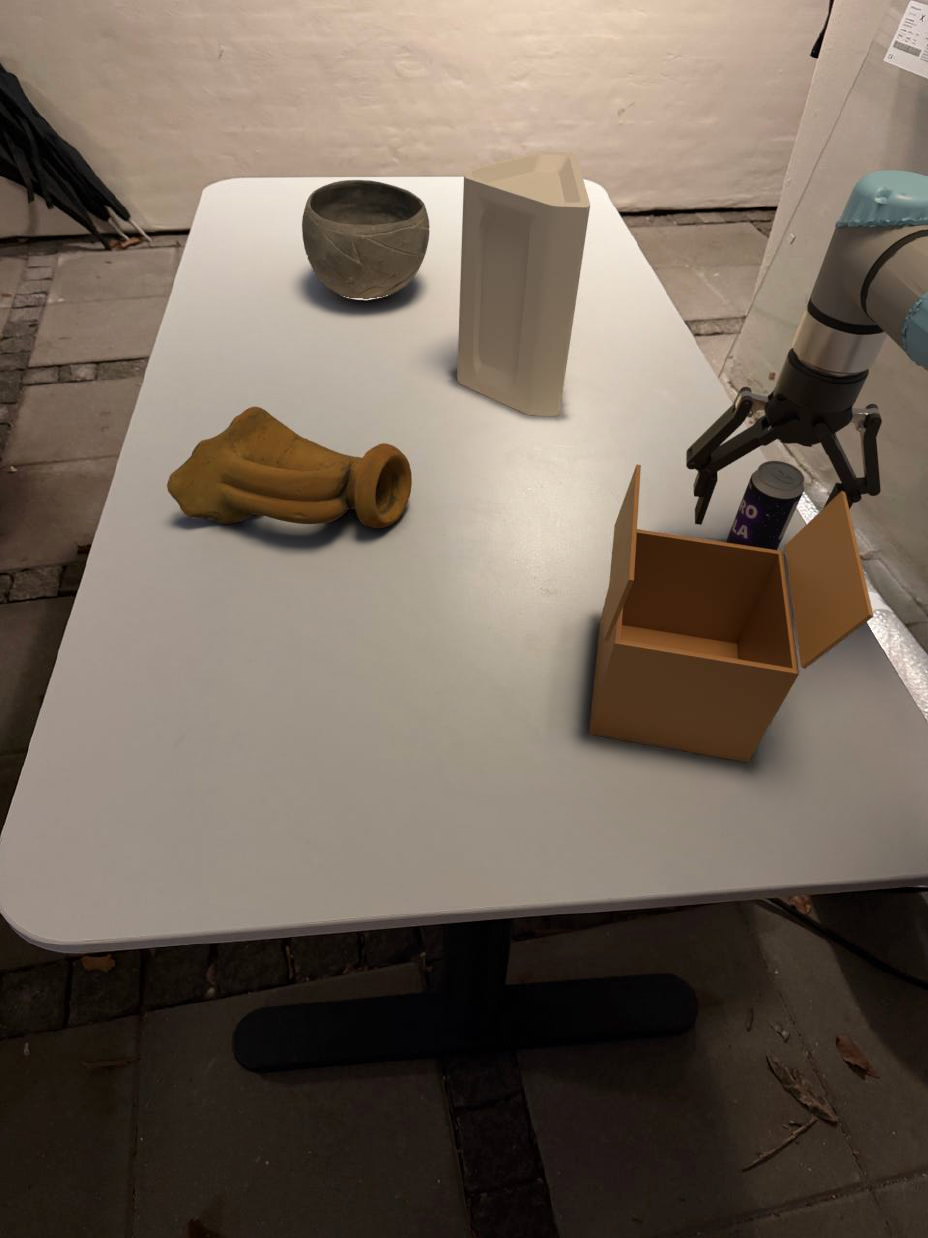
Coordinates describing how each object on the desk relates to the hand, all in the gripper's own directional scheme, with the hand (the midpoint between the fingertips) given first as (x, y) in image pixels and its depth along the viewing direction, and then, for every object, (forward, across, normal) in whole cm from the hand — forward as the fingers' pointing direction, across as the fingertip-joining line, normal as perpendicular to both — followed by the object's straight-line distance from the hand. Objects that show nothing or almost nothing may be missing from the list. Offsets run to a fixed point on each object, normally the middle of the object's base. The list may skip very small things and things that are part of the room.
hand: (757, 526), depth 89 cm
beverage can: (+5, 0, 0) cm, 5 cm away
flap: (-14, 0, +22) cm, 26 cm away
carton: (+4, +9, +22) cm, 24 cm away
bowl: (+5, +62, -54) cm, 82 cm away
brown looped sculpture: (+5, +54, +5) cm, 54 cm away
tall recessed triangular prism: (+5, +34, -32) cm, 47 cm away
